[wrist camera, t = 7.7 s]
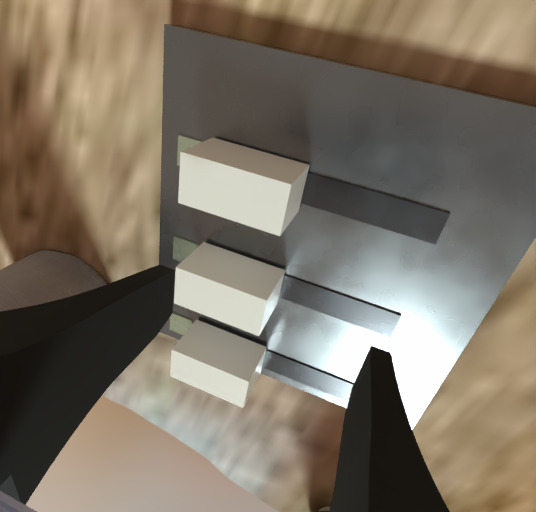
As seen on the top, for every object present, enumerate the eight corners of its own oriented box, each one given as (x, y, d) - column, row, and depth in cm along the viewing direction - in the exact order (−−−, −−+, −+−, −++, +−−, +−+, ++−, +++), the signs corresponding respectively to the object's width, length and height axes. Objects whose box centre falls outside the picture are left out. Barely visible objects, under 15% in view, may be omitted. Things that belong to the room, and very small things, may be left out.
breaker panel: (597, 119, 14) (609, 124, 13) (409, 420, 24) (409, 435, 23) (176, 25, 18) (163, 24, 17) (165, 322, 28) (156, 331, 27)
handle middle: (285, 270, 21) (266, 300, 18) (277, 303, 22) (259, 336, 19) (203, 241, 22) (175, 267, 19) (200, 275, 23) (173, 303, 20)
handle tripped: (309, 165, 17) (291, 184, 15) (298, 211, 19) (280, 236, 16) (212, 137, 18) (180, 151, 16) (208, 183, 20) (177, 202, 17)
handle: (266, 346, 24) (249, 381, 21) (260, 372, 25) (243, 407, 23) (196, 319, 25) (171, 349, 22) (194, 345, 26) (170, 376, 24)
